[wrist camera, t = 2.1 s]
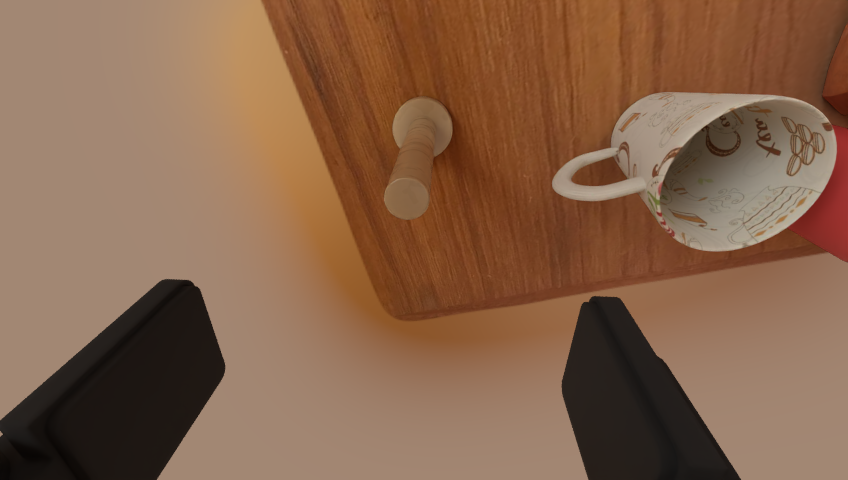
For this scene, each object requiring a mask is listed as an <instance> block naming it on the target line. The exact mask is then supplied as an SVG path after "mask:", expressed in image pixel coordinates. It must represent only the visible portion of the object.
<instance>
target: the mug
mask: <svg viewBox="0 0 848 480" xmlns="http://www.w3.org/2000/svg"><path fill="white" fill-rule="evenodd" d="M836 154H837V142H836V136H835V132H834V129H833V127H832V125H831V123H830V122H829V120H828V119H827V117H826V116H825V115H824V114H823V113H822V112H821V111H819V110H818V109H817V108H815V107H814V106H812V105H810V104H808V103H806V102H804V101H801V100H798V99H795V98H790V97H785V96H777V95H757V94H721V93H685V92H662V93H656V94H652V95H649V96H646V97H644V98H642V99H640V100H638V101H637V102H635V103H634V104H632V105H631V106H630V107H629V108H628V109H627V110H626V111H625V112H624V113H623V114H622V115H621V117H620V118H619V120H618V121H617V123H616V125H615V127H614V130H613V133H612V138H611V148H608V149H603V150H599V151H595V152H591V153H587V154H583V155H580V156H577V157H575V158H574V159H572V160H571V161H569V162H568V163H567V164H565V165H564V166H563V167H562V168H561V169H560V170H559V171H558V172H557V173H556V175H555V176H554V178H553V181H552V186H553V188H554V190H555V191H556V192H557V193H558V194H560V195H562V196H564V197H567V198H570V199H574V200H581V201H603V200H608V199H613V198H618V197H622V196H626V195H629V194H633V193H638V194H639V196H640V197H641V198H642V200H643V201H644V203H645V204H646V206H647V207H648V208H649V210H650V211H651V213H652V214H653V215H654V217H655V218H656V220H657V221H658V223H659V224H660V225H661V226H662V228H663V229H664V230H665V231H666V232H667V233H668V234H669V235H670V236H671V237H672V238H674V239H675V240H677V241H678V242H680V243H682V244H684V245H686V246H688V247H691V248H694V249H698V250H703V251H730V250H736V249H740V248H744V247H748V246H751V245H754V244H757V243H759V242H762V241H764V240H766V239H768V238H770V237H772V236H774V235H776V234H778V233H779V232H781V231H783V230H784V229H785V228H787V227H788V226H790V225H791V224H792V223H794V222H795V221H796V220H797V219H799V218H800V217H801V216H802V215H803V214H804V213H805V212H806V211H807V210H808V209H809V208H810V207H811V206H812V205H813V204H814V202H815V201H816V200H817V199H818V197H819V196H820V194H821V193H822V191H823V190H824V188H825V186H826V185H827V183H828V181H829V179H830V177H831V174H832V171H833V168H834V165H835V161H836ZM612 156H613V157H614V159H615V161H616V163H617V164H618V166H619V167H620V168H621V170H622V171H623V173H624V174H625V176H626V177H627V178H628V179H627V180H624V181H621V182H617V183H613V184H609V185H604V186H583V185H578V184H575V183H573V182H572V181H571V179H572V177H573V175H574V174H575V172H576V171H577V170H579V169H580V168H582V167H584V166H586V165H589V164H591V163H594V162H597V161H600V160H603V159H607V158H609V157H612Z"/></svg>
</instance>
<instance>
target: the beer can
mask: <svg viewBox="0 0 848 480" xmlns="http://www.w3.org/2000/svg"><path fill="white" fill-rule="evenodd" d="M831 125H832V124H831ZM832 127H833V129H834V132H835V136H836V142H837V154H836V161H835V165H834V168H833V171H832V174H831V177H830V179H829V181H828V183H827V185H826V186H825V188H824V190H823V191H822V193H821V194H820V196H819V197H818V199H817V200H816V201H815V202H814V204H813V205H812V206H811V207H810V208H809V209H808V210H807V211H806V212H805V213H804V214H803V215H802V216H801V217H800V218H799V219H797V220H796V221H795V222H794V223H792V224H791V225H790V226H788V227H787V228H788V229H790V230H792V231H793V232H795V233H797V234H798V235H800V236H802V237H803V238H805V239H807V240H809V241H810V242H812V243H814V244H815V245H817V246H819V247H821V248H822V249H824V250H826V251H827V252H829V253H831V254H833V255H834V256H836V257H838V258H839V259H841V260H843V261H845V262H848V128H844V127H840V126H836V125H832Z"/></svg>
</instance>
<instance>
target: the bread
mask: <svg viewBox="0 0 848 480" xmlns="http://www.w3.org/2000/svg"><path fill="white" fill-rule="evenodd" d="M822 97H823V98H825V99H826V100H827V101H828V102H829V103H830V104H831V105H832V106H833V107H834V108H835V109H836V110H837V111H838V112H840V113H841V114H842V115H848V23H847V24H846V26H845V28H844V31H843V33H842V36H841V38H840V41H839V43H838V46H837V48H836V51H835V53H834V55H833V58H832V60H831V63H830V65H829V69H828V73H827V77H826V81H825V85H824V90H823V94H822Z"/></svg>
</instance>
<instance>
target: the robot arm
mask: <svg viewBox="0 0 848 480" xmlns="http://www.w3.org/2000/svg"><path fill="white" fill-rule="evenodd" d="M224 373H225V363H224V359H223V357H222V354H221V351H220V348H219V345H218V342H217V339H216V336H215V333H214V330H213V327H212V324H211V321H210V318H209V315H208V312H207V309H206V306H205V303H204V300H203V297H202V294H201V291H200V289H199V288H198V287H196V286H194V284H193V283H192V282H191V281H189V280H174V279H173V280H172V279H165V280H162V281H160V282H159V283H158V284H156V285H155V286H154V287H153V288H152V289H151V290H150V291H148V292H147V293H146V294H145V295H144V296H143V297H141V298H140V299H139V300H138V301H137V302H136V303H135V304H133V305H132V306H131V307H130V308H129V309H128V310H127V311H125V312H124V313H123V314H122V315H121V316H120V317H118V319H116V320H115V321H114V322H113V323H112V324H110V325H109V326H108V327H107V328H106V329H105V330H104V331H102V333H100V334H99V335H98V336H97V337H96V338H95V339H93V340H92V341H91V342H90V343H89V344H88V345H86V346H85V347H84V348H83V349H82V350H81V351H79V352H78V353H77V354H76V355H75V356H74V357H73V358H71V359H70V360H69V361H68V362H67V363H66V364H65V365H63V366H62V367H61V368H60V369H59V370H58V371H56V372H55V373H54V374H53V375H52V376H51V377H50V378H48V379H47V380H46V381H45V382H44V383H43V384H42V385H41V386H39V387H38V388H37V389H36V390H35V391H33V393H31V394H30V395H29V396H28V397H27V398H25V399H24V400H23V401H22V402H21V403H20V404H19V405H17V406H16V407H15V408H14V409H13V410H12V411H11V412H9V413H8V414H7V415H6V416H5V417H4V418H2V420H0V431H1V432H2V433H3V435H2V436H1V437H0V480H157V478H158V477H159V475H160V473H161V472H162V470H163V469H164V467H165V466H166V464H167V463H168V461H169V460H170V458H171V457H172V455H173V454H174V452H175V451H176V449H177V447H178V446H179V444H180V443H181V441H182V440H183V438H184V437H185V435H186V434H187V432H188V430H189V429H190V427H191V426H192V424H193V423H194V421H195V420H196V418H197V417H198V415H199V414H200V412H201V410H202V409H203V407H204V406H205V404H206V403H207V401H208V400H209V398H210V397H211V395H212V394H213V392H214V391H215V389H216V387H217V386H218V384H219V383H220V381H221V380H222V378H223V376H224ZM562 394H563V398H564V401H565V405H566V408H567V411H568V414H569V418H570V421H571V424H572V428H573V431H574V434H575V437H576V441H577V444H578V447H579V450H580V454H581V457H582V460H583V463H584V467H585V470H586V473H587V476H588V479H589V480H741V479H740V478H739V476H738V474H737V472H736V471H735V469H734V468H733V466H732V465H731V463H730V462H729V460H728V459H727V457H726V456H725V454H724V452H723V451H722V449H721V448H720V446H719V445H718V443H717V442H716V440H715V438H714V437H713V435H712V434H711V433H710V431H709V429H708V428H707V426H706V425H705V423H704V421H703V420H702V419H701V417H700V415H699V414H698V412H697V411H696V409H695V408H694V406H693V405H692V403H691V401H690V400H689V398H688V397H687V395H686V394H685V392H684V391H683V389H682V387H681V386H680V384H679V383H678V381H677V380H676V378H675V377H674V375H673V374H672V372H671V371H670V369H669V367H668V366H667V364H666V363H665V362H664V361H663V360H662V359H661V358H659V357H658V356H657V355H656V354H655V352H654V351H653V349H652V348H651V346H650V344H649V343H648V341H647V340H646V338H645V337H644V335H643V333H642V332H641V330H640V329H639V327H638V325H637V324H636V323H635V321H634V319H633V318H632V316H631V314H630V313H629V311H628V310H627V308H626V307H625V305H624V303H623V302H622V301H621V299H620V298H617V297H600V296H594V297H591V299H590V300H589V302H584V303H583V304H582V306H581V309H580V313H579V317H578V321H577V325H576V329H575V332H574V336H573V340H572V344H571V348H570V352H569V356H568V360H567V364H566V368H565V372H564V376H563V380H562Z"/></svg>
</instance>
